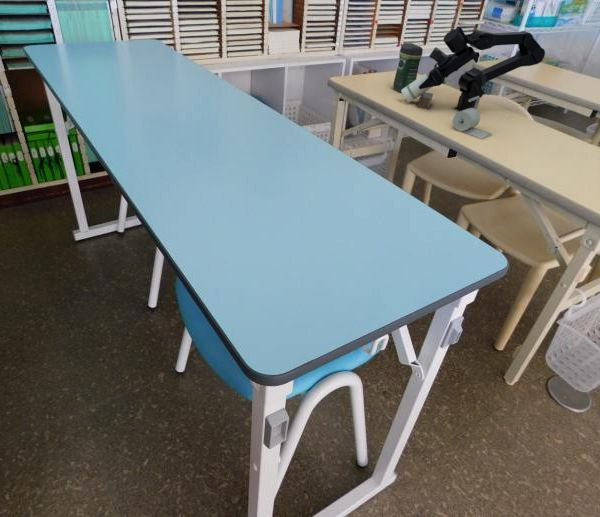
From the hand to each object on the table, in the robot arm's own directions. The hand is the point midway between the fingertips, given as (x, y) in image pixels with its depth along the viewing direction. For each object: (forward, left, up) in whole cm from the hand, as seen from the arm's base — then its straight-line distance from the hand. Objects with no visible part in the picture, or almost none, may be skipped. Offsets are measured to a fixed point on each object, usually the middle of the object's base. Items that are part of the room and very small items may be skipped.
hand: (421, 85), depth 175 cm
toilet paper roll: (-30, +3, -7) cm, 31 cm away
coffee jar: (+17, -8, -7) cm, 20 cm away
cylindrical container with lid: (+1, +1, -7) cm, 7 cm away
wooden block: (-2, -2, -7) cm, 8 cm away
